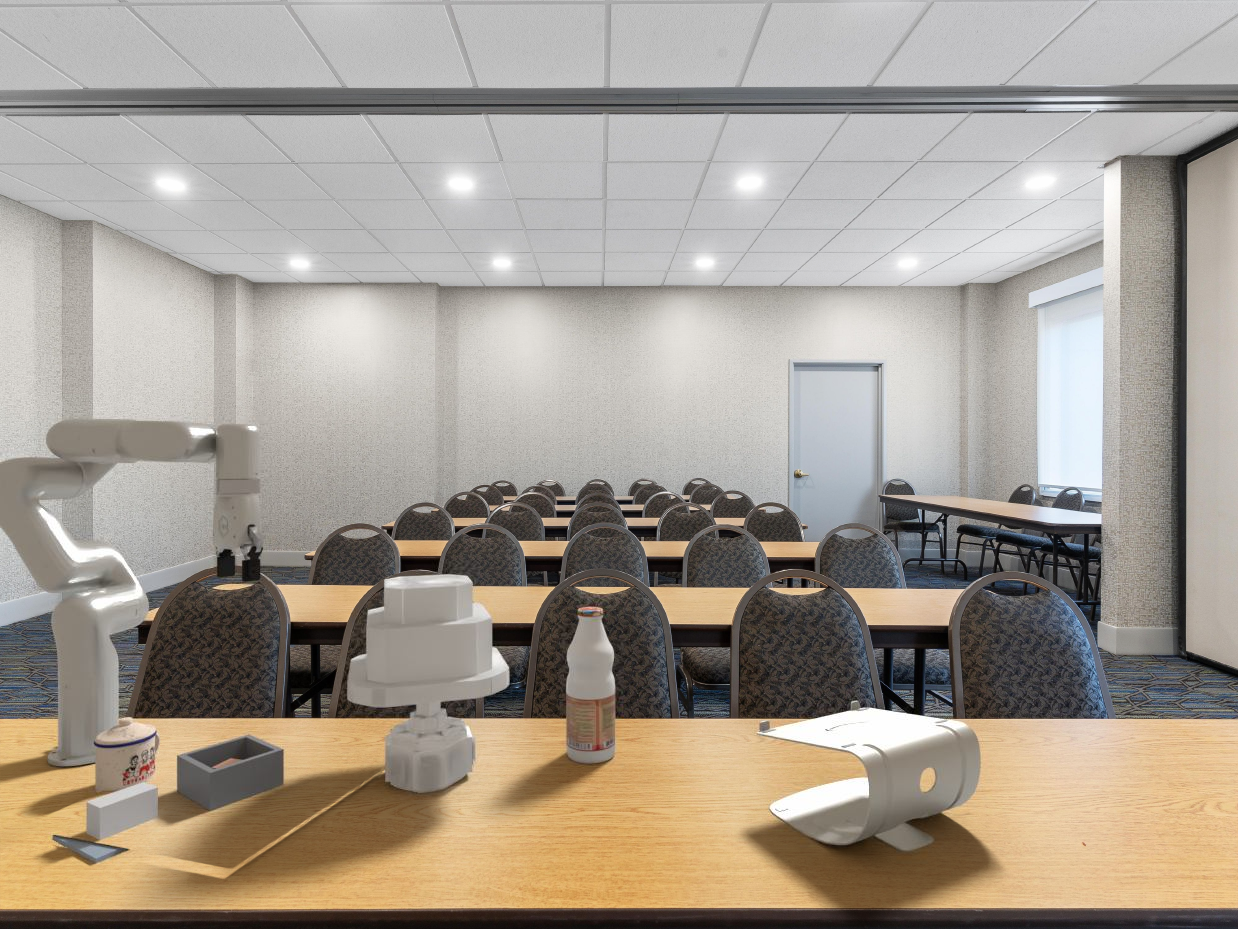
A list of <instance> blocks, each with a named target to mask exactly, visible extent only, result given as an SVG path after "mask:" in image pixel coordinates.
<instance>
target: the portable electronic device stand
mask: <svg viewBox="0 0 1238 929" xmlns="http://www.w3.org/2000/svg"><path fill="white" fill-rule="evenodd" d="M758 724H759V725H758V726H759V727H758V728H759V731H757V732H755V734H756V735H757V736H760V737H766V738H772V739H776V740H780V741H786V742H790V743H791V742H792V743H797V744H802V745H807V746H811V747H817V748H822V749H827V750H830V751H831V750H832V751H837V752H842V753H848V754H851V755H852V756H855V757H856V758H858V760H859V761H860V762H861V764H862V765H863V766H864V769H865V772H866V776H867V777H854V778H850V779H848V778H847V779H843V780H837V781H834V782H833V781H832V782H830V783H825V784H822V785H818V786H814V787H810V788H807V789H804V790H801V791H798V792H795V793H793V794H790V795H787V796H784V797H782V798H780V799H778V800H775V801H774V802H772V803H771V804H770V805H769V811H770V813H771V814H772V815H774V816H775V817H776V818H778V819H780V820H781V821H782V822H784V823H785V824H787V825H789V826H791V827H792V828H794V830H797V832H800V833H801V834H803V835H804V836H807V837H808V838H810V839H813V840H815V841H818V842H821V843H823V844H826V845H834V846H847V845H852V844H854V843H856V842H860V841H863V840H866V839H869V837H874V838H875V839H876V840H878V841H881V842H883V843H884V844H886V845H888V846H889V847H892V848H894V849H896V850H898V851H901V852H903V853H904V852H906V853H907V852H914V851H915V850H918V849H921V848H923V847H927V846H929V845H931V844H933V843H934V838H933V837H932V836H931V835H930V834H928V833H926V832H924V831H922V830H920V829H919V828H918V827H915V826H914V825H912V824H909V823H908V821H912V820H914V819H924V818H929V817H931V816H934V815H937V814H940V813H943V812H945V811H949V810H952V809H954V808H957V807H960V806H963V805H964V804H965V803H967V802H968V801H969V800H970V799H971V798H972V797H973V795H974V794H975V792H976V790H977V788H978V785H979V782H980V781H979V780H980V777H981V776H980V775H981V768H982V767H981V763H982V762H981V760H982V759H981V757H982V756H981V747H980V746H981V745H980V742H979V739H978V736H977V734H976V732H975V731H974V730H973V729H972V728H971V726H969V725H968V724H967V723H965V722H962V721H957V720H951V719H946V718H938V717H931V716H925V715H920V714H919V715H918V714H912V713H905V712H899V711H893V710H892V711H891V710H885V709H880V708H879V709H878V708H874V707H861V704H860V701H859V700H854V701H851V702H850V710H847V711H843V712H839V713H833V714H829V715H825V716H820V717H817V718H812V719H807V720H803V721H802V720H801V721H799V722H795V723H789V724H785V725H781V726H780V725H779V726H776V727H773V728H771V726H770V721H769V720H763V721H760V722H759V723H758ZM929 768H930V769H932V770H933V771H934V774H935V775H934V776H935V779H934V783H933V785H932V786H931V788H930V789H929V790H927V791H922V790H921V789H922V788H921V777H922V775H923V773H924V771H925V770H927V769H929Z"/></svg>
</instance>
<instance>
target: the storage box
mask: <svg viewBox="0 0 1238 929" xmlns="http://www.w3.org/2000/svg"><path fill="white" fill-rule="evenodd" d="M284 750H285V749H284V748H282V747H279V746H278V745H275V744H272V743H270V742H268V741H265V740H263V739H261V738H259V737H255V736H254V735H251V734H245V735H242V736H237V737H235V738H231V739H229V740H225V741H221V742H218V743H215V744H212V745H208V746H204V747H201V748H197V749H194V750H191V751H188V752H187V751H186V752H184V753H181V754H177V755H176V792H177V793H179V794H180V795H182V796H183V797H185V798H187V799H189V800H190V801H193V802H194V803H195V804H197V805H198V806H201V807H202V808H204V809H206V810H208V811H209V812H213V811H215V810H218V809H221V808H223V807H226V806H229V805H231V804H235V803H237V802H241V801H243V800H246V799H249V798H251V797H253V796H257V795H259V794H263V793H265V792H267V791H268V792H269V791H270V790H273V789H276V788H279V787H281V786H284V785H285V784H284V783H285V782H284V781H285V780H284V779H285V778H284V776H285V772H284V770H285V768H284V764H285V762H284V758H285V757H284V756H285V755H284V754H285V752H284ZM231 758H232V759H239V760H242V761H238V762H235V763H232V764H229V765H226V766H223V767H220V768H217V769H212V767H214V766H216V765H218V764H220V763H222V762H224V761H226V760H228V759H231Z"/></svg>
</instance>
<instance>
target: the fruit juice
mask: <svg viewBox="0 0 1238 929" xmlns="http://www.w3.org/2000/svg"><path fill="white" fill-rule="evenodd" d="M603 617H604V609H603V608H602V607H597V606H583V607H580V608H577V618H578V624H577V627H576V629H575V634H574V636H573V639H572V640H571V643H570V644H569V646H568V648H567V652H566V661H567V665H568V668H569V670H568V675H567V678H566V685H565V696H566V697H565V698H566V700H565V704H566V705H565V706H566V707H565V709H566V712H565V713H566V714H565V715H566V716H565V717H566V718H565V720H566V723H565V724H566V727H565V728H566V730H565V731H566V734H565V735H566V738H565V741H566V753H567V757H568V758H569V760H572V761H573V762H575V763H580V764H598V763H599V764H600V763H605V762H607V761H609V760H610V759H612V758H613V757H614V756H615V753H616V752H615V751H616V681H615V677H614V673H613V666H614V660H615V650H614V648H613V645H612V644H611V642H610V640H609V638H608V636H607V633H606V629H605V627H604V624H603V621H602V620H603Z"/></svg>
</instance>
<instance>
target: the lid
mask: <svg viewBox="0 0 1238 929" xmlns="http://www.w3.org/2000/svg"><path fill="white" fill-rule="evenodd" d="M158 790H159V788H158V786H156V785H153V784H150V783H148V782H142V783H139V784H136V785H134V786H131V787H128V788H125V789H122V790H115V791H112V792H111V793H108V794H105V795H103V796H100V797H97V798H94V799H91V800H88V801H86V835H88V836H90V837H92V838H94V839H97V840H99V841H102V840H105V839H107V838H109V837H112V836H114V835H117V834H119V833H123V832H124V831H127V830H130V829H132V828H135V827H138V826H140V825H143V824H146V823H147V822H149V821H152V820H154V819H157V818H158V816H159V814H158V813H159V807H158V806H159V805H158V804H159V799H158V798H159V794H158V793H159V791H158ZM51 836H52V838H51V839H52V841H53V840H54V842H55V841H56V842H55V843H57V842H58V843H57V844H59V845H61V846H63V847H64V848H66V847H67V848H66V849H68V848H69V849H68V850H70V849H71V850H70V851H72V852H73V853H75V852H76V854H77V853H78V855H79V854H80V856H81V855H82V856H81V857H83V856H84V857H83V858H85V859H86V860H88V859H89V860H88V861H91V862H92V863H94V864H98V862H99V863H101V862H104V861H105V860H108V859H111V858H113V857H116V856H117V855H120V854H122V853H125V852H127V851H130V850H131V849H130V848H127V847H121V846H115V845H110V844H105V843H101V842H94V841H89V840H84V839H80V838H74V837H68V836H63V835H58V834H52V835H51Z"/></svg>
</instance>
